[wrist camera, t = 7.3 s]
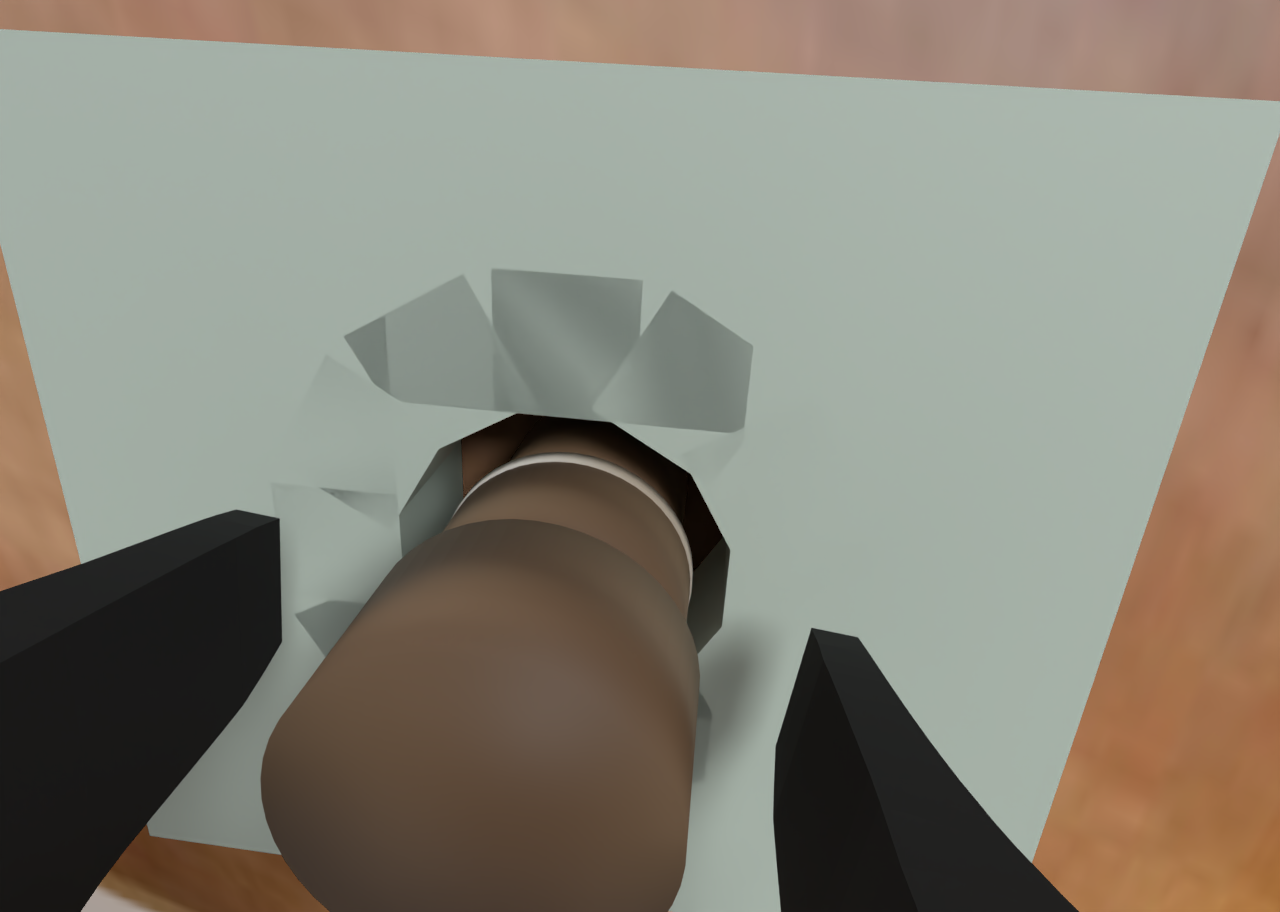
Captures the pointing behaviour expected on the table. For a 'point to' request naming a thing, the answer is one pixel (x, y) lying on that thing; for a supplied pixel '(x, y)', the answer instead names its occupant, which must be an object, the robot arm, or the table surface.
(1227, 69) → the table surface
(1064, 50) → the table surface
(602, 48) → the table surface
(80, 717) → the robot arm
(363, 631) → the peg
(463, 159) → the board
